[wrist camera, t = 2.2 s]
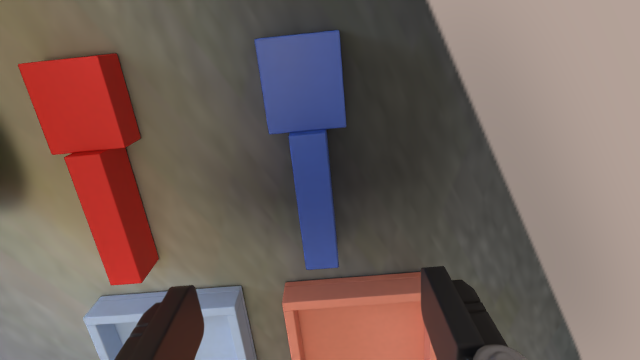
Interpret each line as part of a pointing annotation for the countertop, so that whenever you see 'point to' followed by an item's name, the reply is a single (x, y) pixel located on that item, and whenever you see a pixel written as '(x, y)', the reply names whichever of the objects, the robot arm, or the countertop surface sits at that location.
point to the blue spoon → (307, 126)
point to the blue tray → (126, 310)
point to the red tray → (357, 318)
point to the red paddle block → (96, 154)
